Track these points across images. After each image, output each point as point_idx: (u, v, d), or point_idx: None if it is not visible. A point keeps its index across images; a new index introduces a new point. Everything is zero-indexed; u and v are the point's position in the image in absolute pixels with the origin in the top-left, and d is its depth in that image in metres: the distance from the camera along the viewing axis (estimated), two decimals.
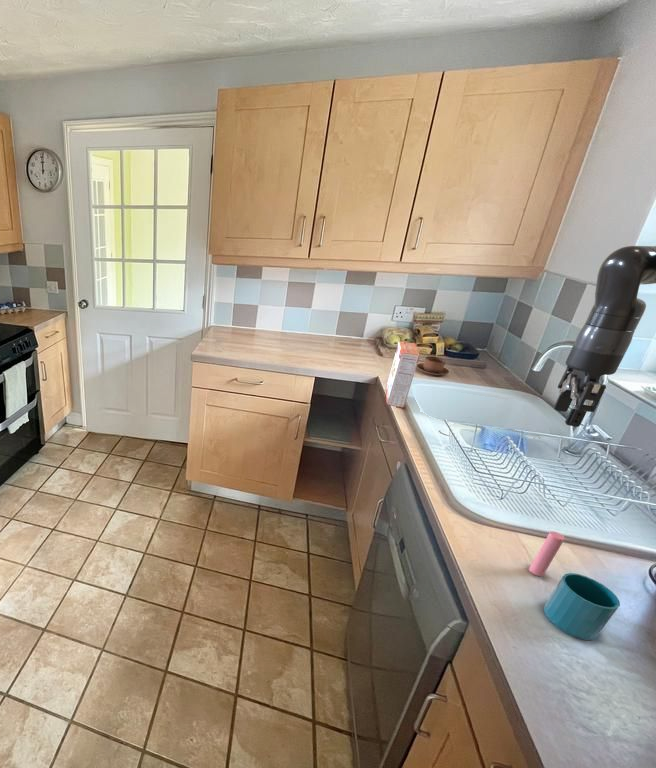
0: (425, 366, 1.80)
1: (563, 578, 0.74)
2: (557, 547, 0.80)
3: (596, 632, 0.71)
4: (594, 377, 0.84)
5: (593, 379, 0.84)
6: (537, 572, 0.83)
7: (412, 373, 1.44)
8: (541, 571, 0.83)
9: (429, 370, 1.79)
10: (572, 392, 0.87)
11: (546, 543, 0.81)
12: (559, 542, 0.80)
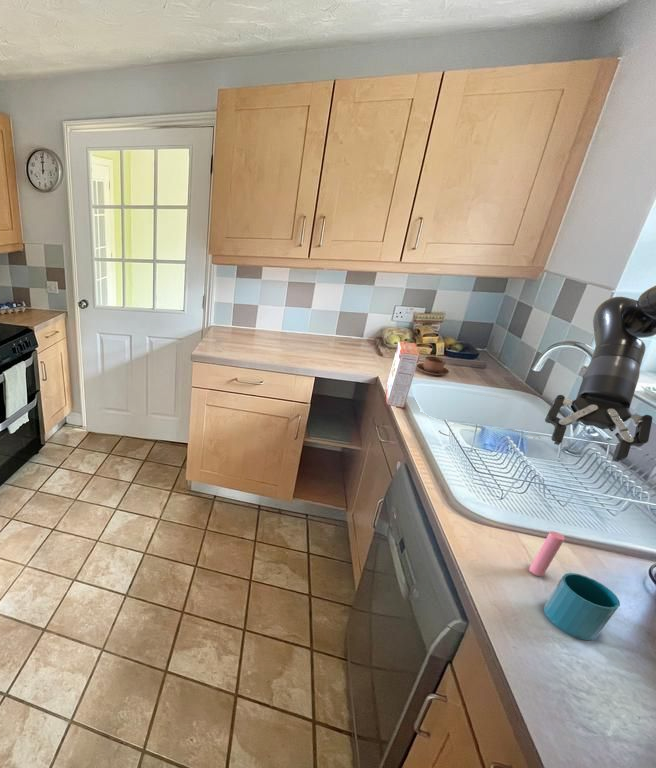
0: (425, 366, 1.80)
1: (563, 578, 0.74)
2: (557, 547, 0.80)
3: (596, 632, 0.71)
4: (576, 398, 0.87)
5: None
6: (537, 572, 0.83)
7: (412, 373, 1.44)
8: (541, 571, 0.83)
9: (429, 370, 1.79)
10: None
11: (546, 543, 0.81)
12: (559, 542, 0.80)
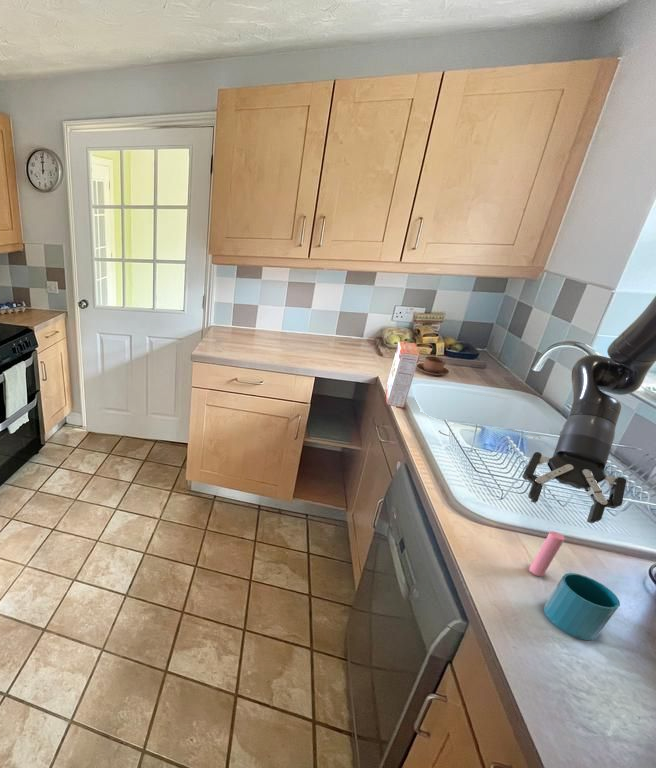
0: (425, 366, 1.80)
1: (563, 578, 0.74)
2: (557, 547, 0.80)
3: (596, 632, 0.71)
4: (553, 456, 0.88)
5: None
6: (537, 572, 0.83)
7: (412, 373, 1.44)
8: (541, 571, 0.83)
9: (429, 370, 1.79)
10: None
11: (546, 543, 0.81)
12: (559, 542, 0.80)
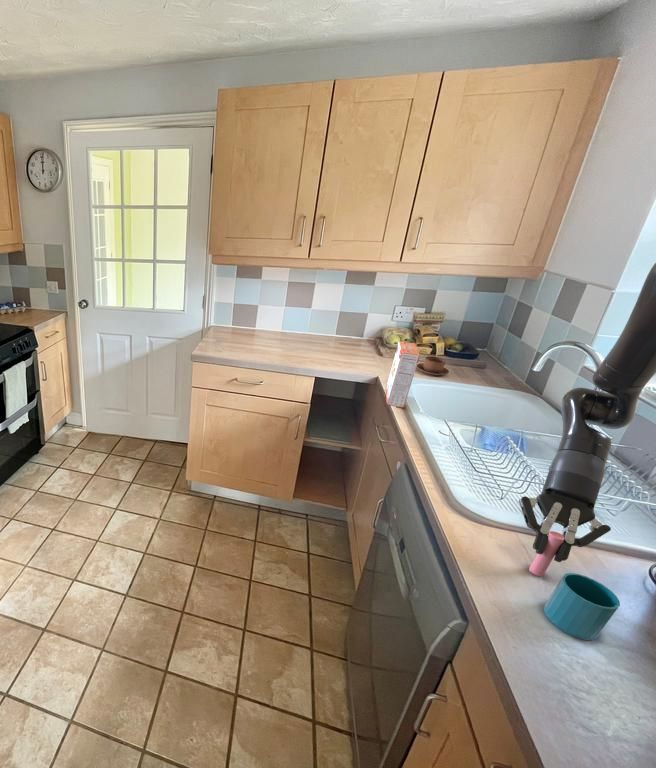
0: (425, 366, 1.80)
1: (563, 578, 0.74)
2: (557, 547, 0.80)
3: (596, 632, 0.71)
4: (541, 493, 0.85)
5: (538, 496, 0.85)
6: (537, 572, 0.83)
7: (412, 373, 1.44)
8: (541, 571, 0.83)
9: (429, 370, 1.79)
10: None
11: (546, 543, 0.81)
12: (559, 542, 0.80)
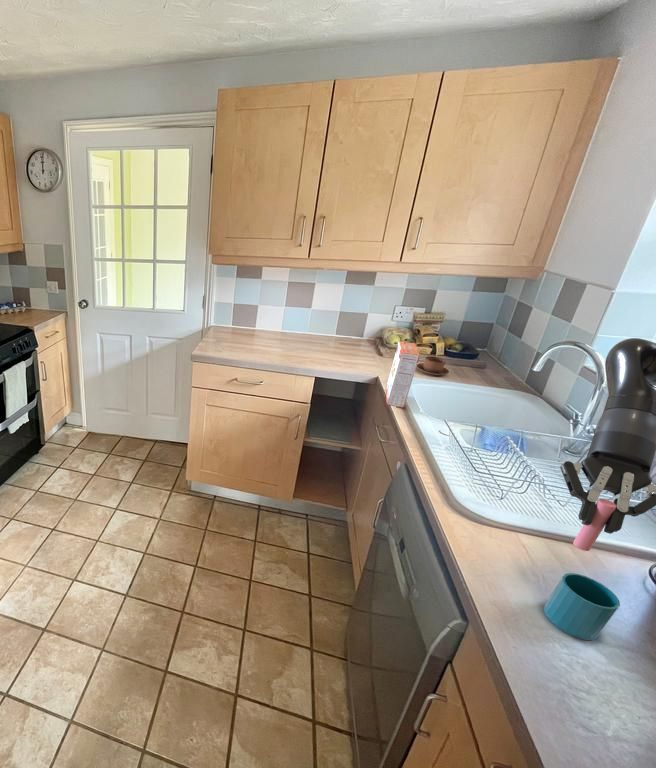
0: (425, 366, 1.80)
1: (563, 578, 0.74)
2: (607, 516, 0.70)
3: (596, 632, 0.71)
4: (587, 457, 0.75)
5: None
6: (583, 546, 0.74)
7: (412, 373, 1.44)
8: (587, 544, 0.73)
9: (429, 370, 1.79)
10: None
11: None
12: (610, 510, 0.70)
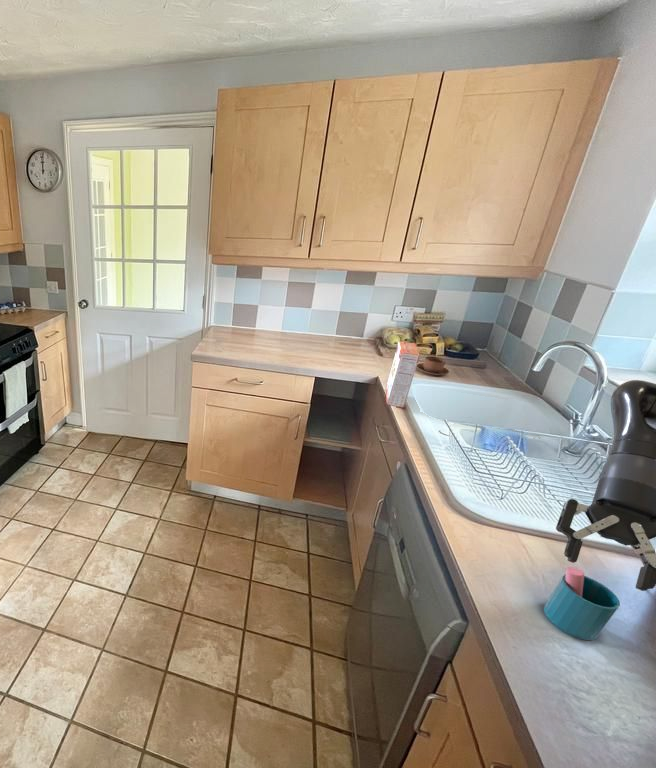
0: (425, 366, 1.80)
1: (563, 578, 0.74)
2: (580, 585, 0.72)
3: (596, 632, 0.71)
4: (592, 503, 0.73)
5: None
6: None
7: (412, 373, 1.44)
8: None
9: (429, 370, 1.79)
10: None
11: (567, 582, 0.73)
12: (579, 579, 0.71)
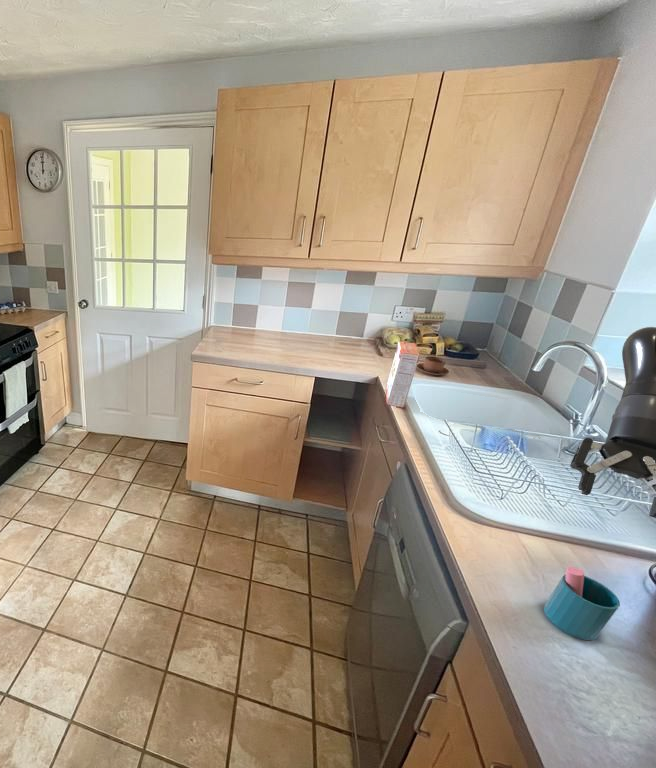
0: (425, 366, 1.80)
1: (563, 578, 0.74)
2: (580, 585, 0.72)
3: (596, 632, 0.71)
4: (606, 442, 0.77)
5: None
6: None
7: (412, 373, 1.44)
8: None
9: (429, 370, 1.79)
10: None
11: (567, 582, 0.73)
12: (579, 579, 0.71)
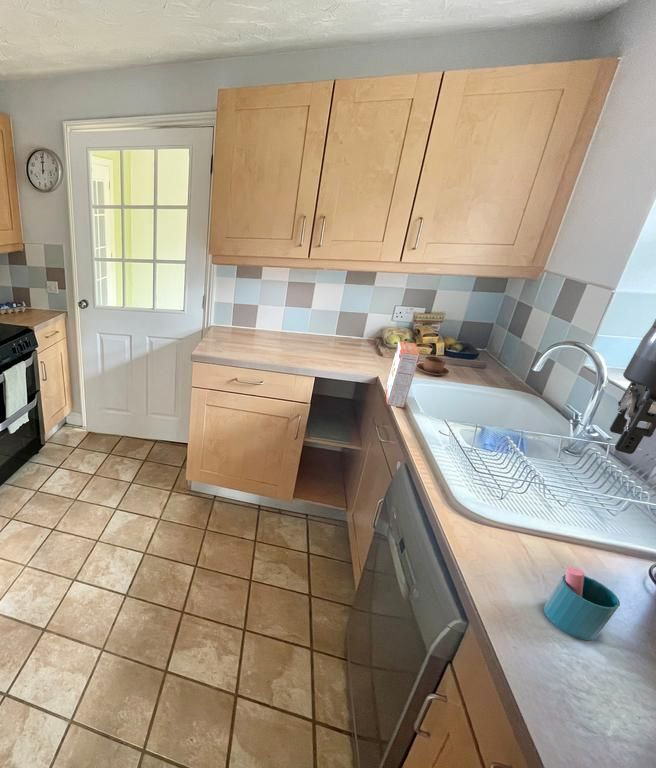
0: (425, 366, 1.80)
1: (563, 578, 0.74)
2: (580, 585, 0.72)
3: (596, 632, 0.71)
4: None
5: (655, 396, 0.67)
6: None
7: (412, 373, 1.44)
8: None
9: (429, 370, 1.79)
10: (627, 411, 0.70)
11: (567, 582, 0.73)
12: (579, 579, 0.71)
